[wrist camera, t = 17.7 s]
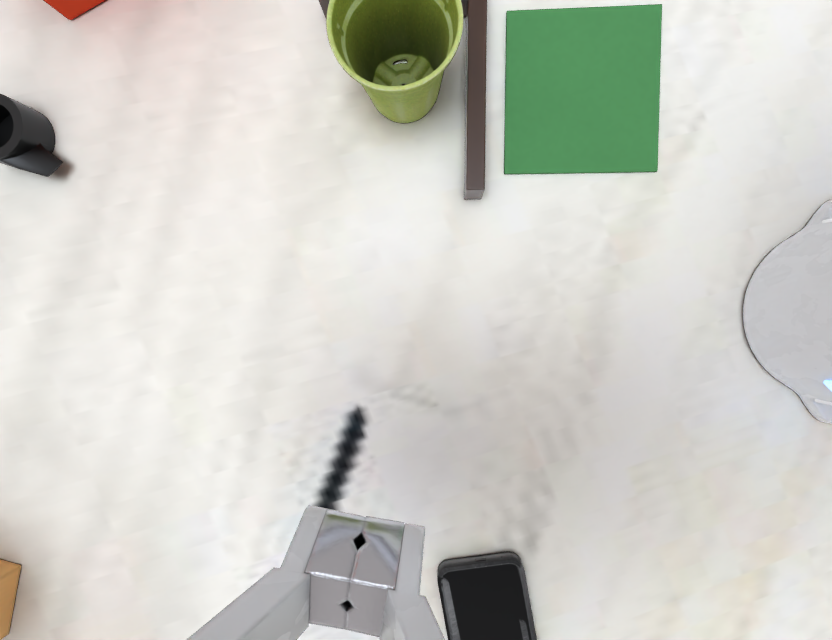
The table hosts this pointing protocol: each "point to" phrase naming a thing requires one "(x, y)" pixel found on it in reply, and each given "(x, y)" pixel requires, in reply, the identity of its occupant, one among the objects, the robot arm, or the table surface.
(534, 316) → the table surface
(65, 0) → the file binder
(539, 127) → the green cloth
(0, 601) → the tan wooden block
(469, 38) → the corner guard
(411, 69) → the plant pot
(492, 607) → the phone
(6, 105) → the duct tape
